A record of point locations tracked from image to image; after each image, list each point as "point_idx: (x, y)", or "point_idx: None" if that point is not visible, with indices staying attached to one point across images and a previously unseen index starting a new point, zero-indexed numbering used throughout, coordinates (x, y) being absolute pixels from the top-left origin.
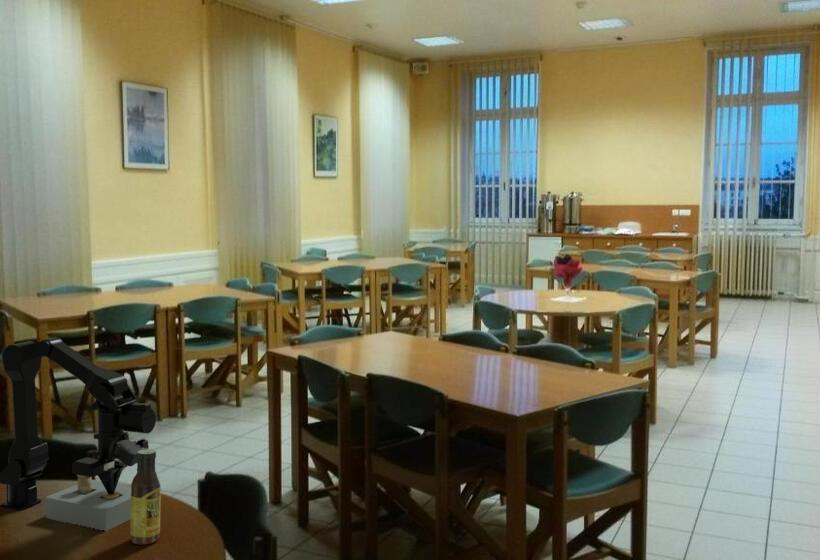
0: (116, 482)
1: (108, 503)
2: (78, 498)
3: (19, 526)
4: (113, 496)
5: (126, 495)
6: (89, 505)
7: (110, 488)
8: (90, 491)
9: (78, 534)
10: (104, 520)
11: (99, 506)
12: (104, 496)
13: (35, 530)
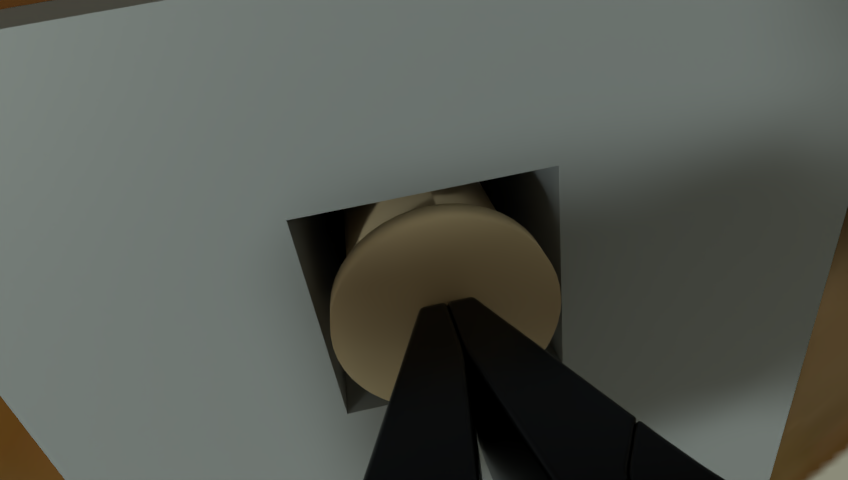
0: (422, 430)
1: (685, 90)
2: None
3: (794, 446)
4: (500, 222)
5: (272, 170)
6: (822, 229)
7: (544, 354)
8: None
9: None
10: None
11: (826, 96)
12: (555, 316)
13: (826, 351)
